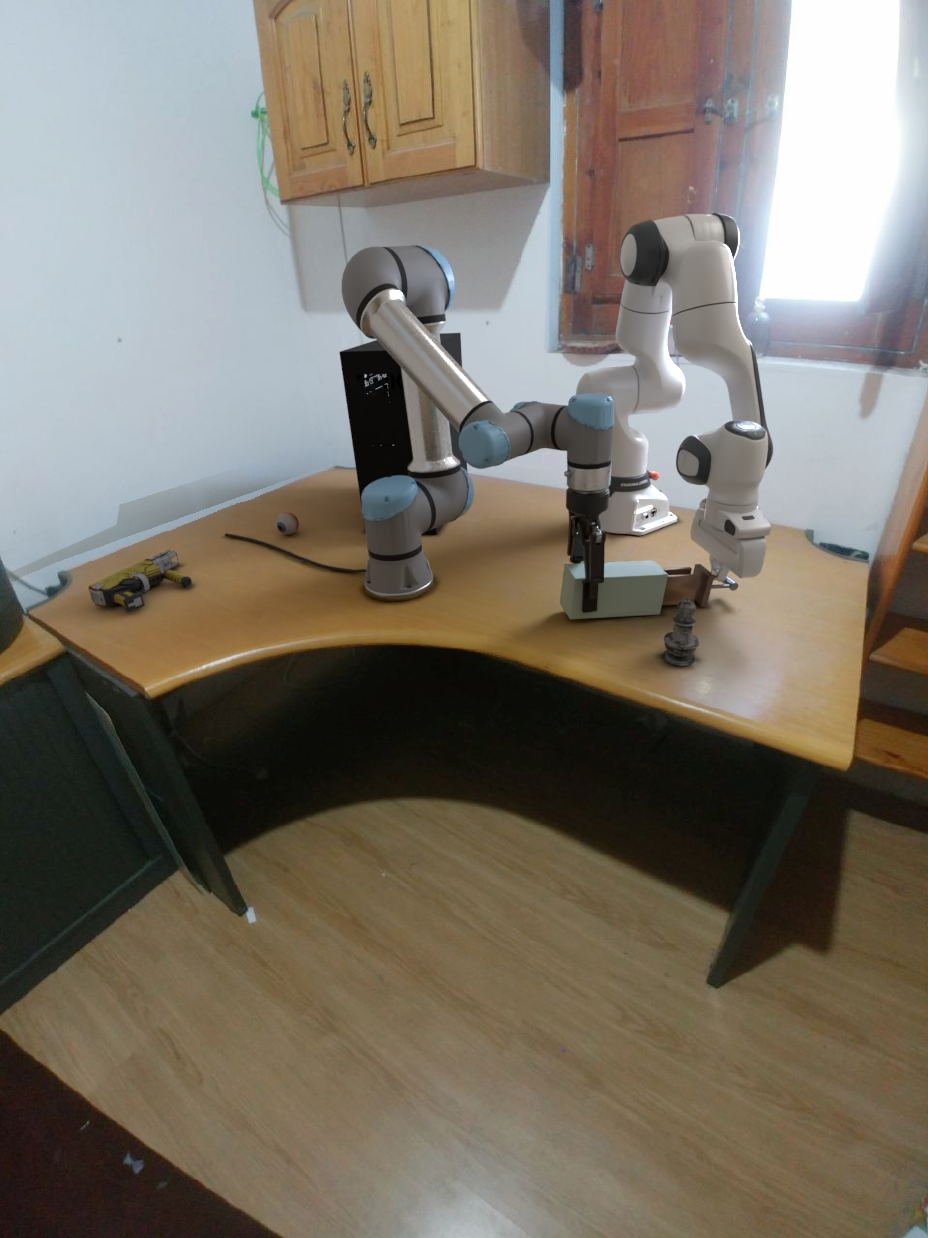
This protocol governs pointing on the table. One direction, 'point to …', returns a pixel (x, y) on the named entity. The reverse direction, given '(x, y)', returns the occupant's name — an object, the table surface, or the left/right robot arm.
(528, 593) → the table surface
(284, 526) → the eyeball
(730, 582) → the drawer
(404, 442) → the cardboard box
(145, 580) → the toy gun
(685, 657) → the salt shaker
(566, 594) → the cabinet
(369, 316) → the left robot arm
